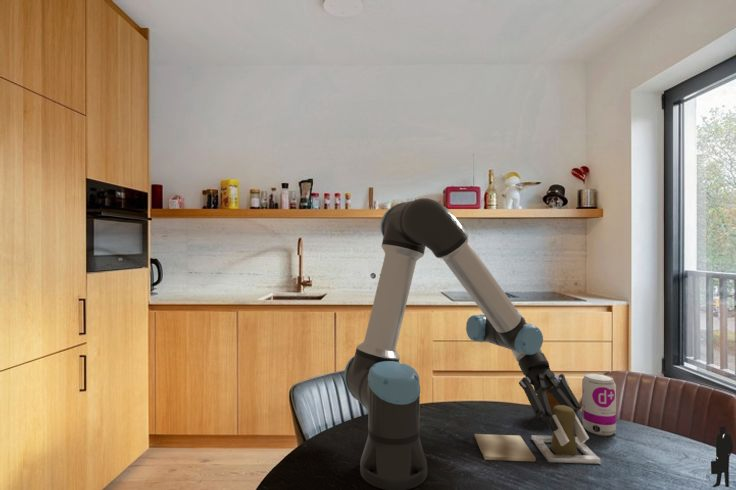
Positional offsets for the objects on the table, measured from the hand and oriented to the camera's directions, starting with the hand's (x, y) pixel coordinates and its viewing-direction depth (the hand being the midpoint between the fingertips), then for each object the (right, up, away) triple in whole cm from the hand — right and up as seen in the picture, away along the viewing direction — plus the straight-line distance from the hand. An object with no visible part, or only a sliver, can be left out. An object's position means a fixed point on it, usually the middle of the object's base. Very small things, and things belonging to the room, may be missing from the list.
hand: (575, 441), depth 99 cm
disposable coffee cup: (+5, -5, +24) cm, 25 cm away
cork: (-1, -4, +4) cm, 6 cm away
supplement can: (+15, -4, +16) cm, 22 cm away
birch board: (-16, -4, +4) cm, 17 cm away
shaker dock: (-1, -4, +4) cm, 5 cm away
